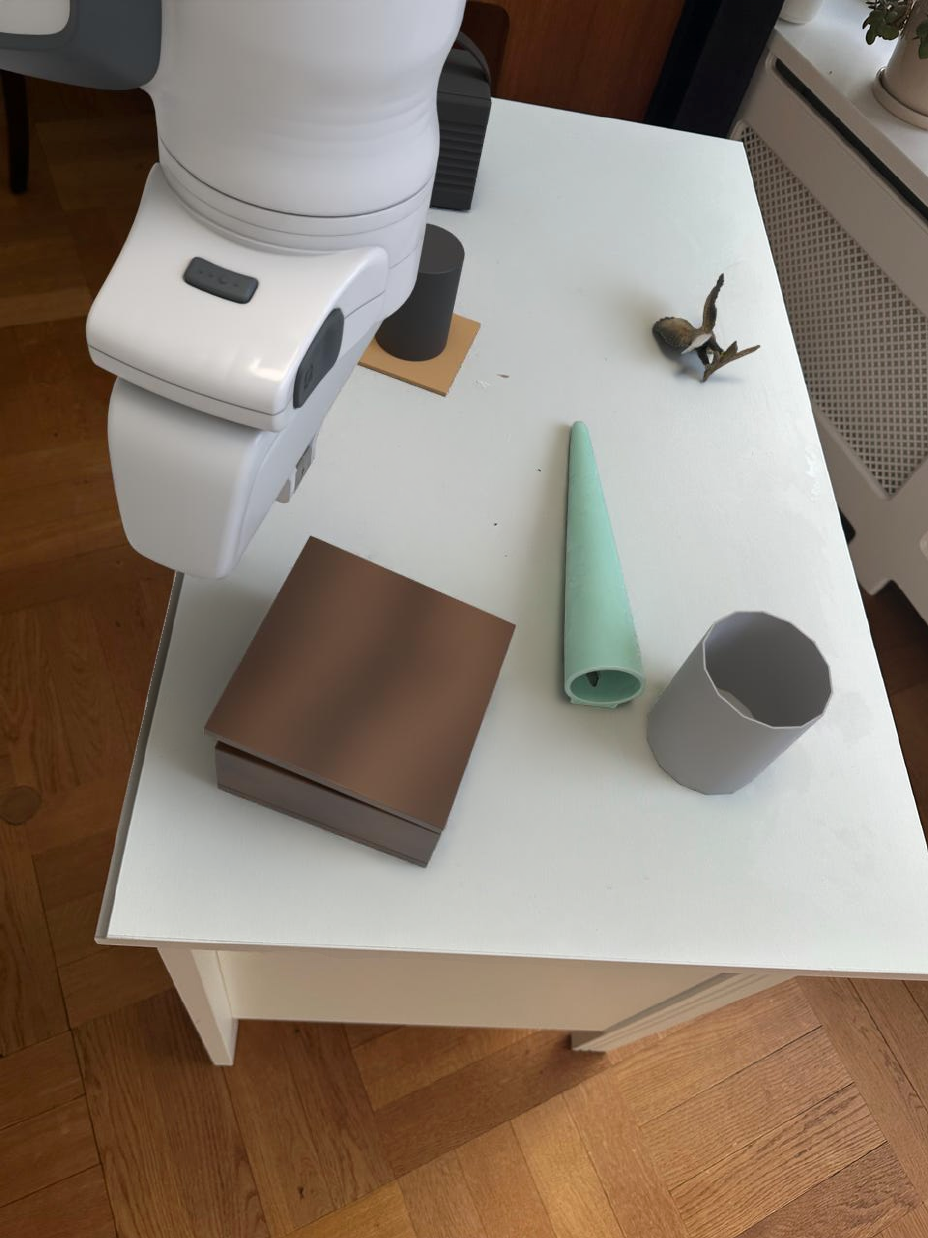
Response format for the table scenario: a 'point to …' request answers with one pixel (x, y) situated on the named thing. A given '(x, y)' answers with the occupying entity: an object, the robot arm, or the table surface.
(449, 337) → the cork mat
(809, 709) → the cup
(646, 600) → the table surface
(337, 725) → the chest lid
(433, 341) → the dark grey cylinder
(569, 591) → the mint green cone
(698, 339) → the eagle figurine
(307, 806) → the chest
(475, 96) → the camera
